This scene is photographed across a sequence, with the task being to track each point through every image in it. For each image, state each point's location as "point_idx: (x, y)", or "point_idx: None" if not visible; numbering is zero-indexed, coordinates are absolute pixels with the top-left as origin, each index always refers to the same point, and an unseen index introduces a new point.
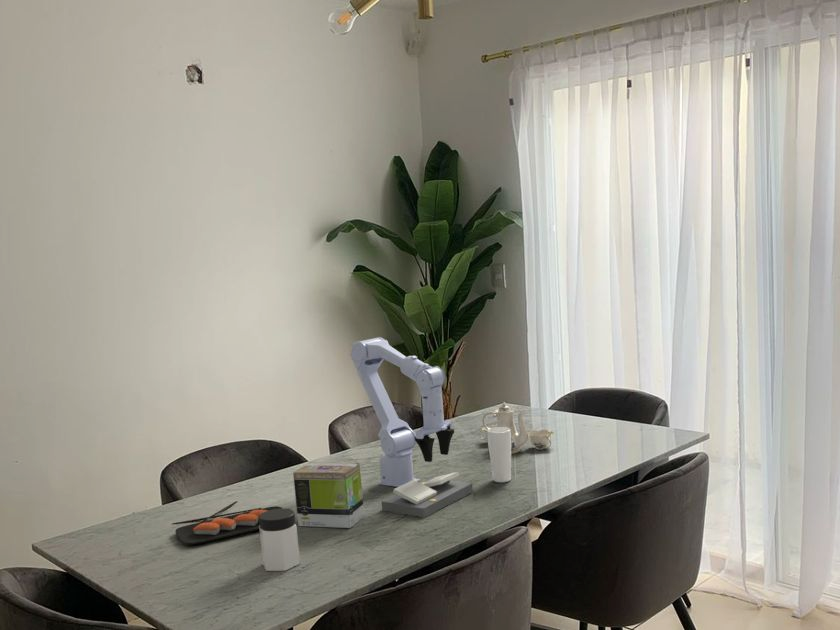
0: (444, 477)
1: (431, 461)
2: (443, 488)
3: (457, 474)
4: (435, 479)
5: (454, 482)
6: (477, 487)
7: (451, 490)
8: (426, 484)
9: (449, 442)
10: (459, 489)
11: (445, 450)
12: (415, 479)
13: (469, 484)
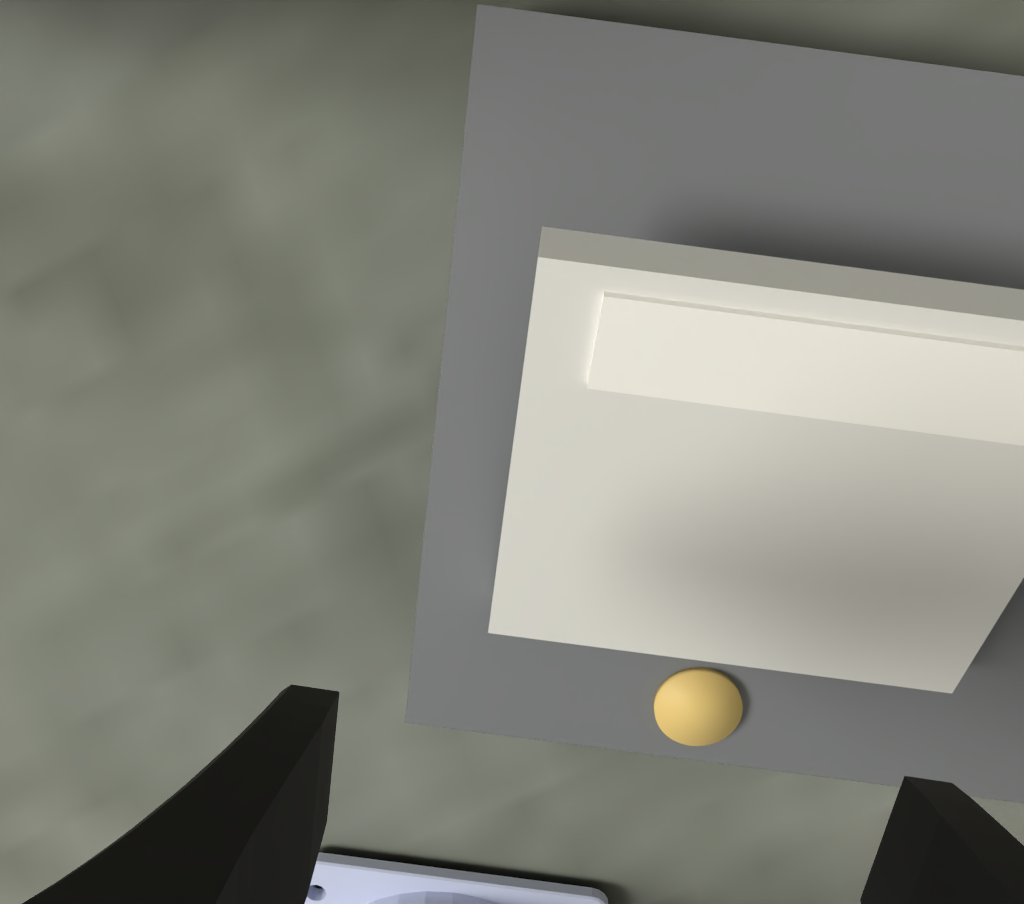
0: (951, 350)
1: (916, 779)
2: None
3: (594, 246)
4: (768, 551)
5: (520, 321)
6: (267, 48)
7: (917, 178)
8: (1017, 577)
9: (156, 849)
10: (848, 65)
11: (313, 781)
12: (337, 899)
13: (551, 20)
